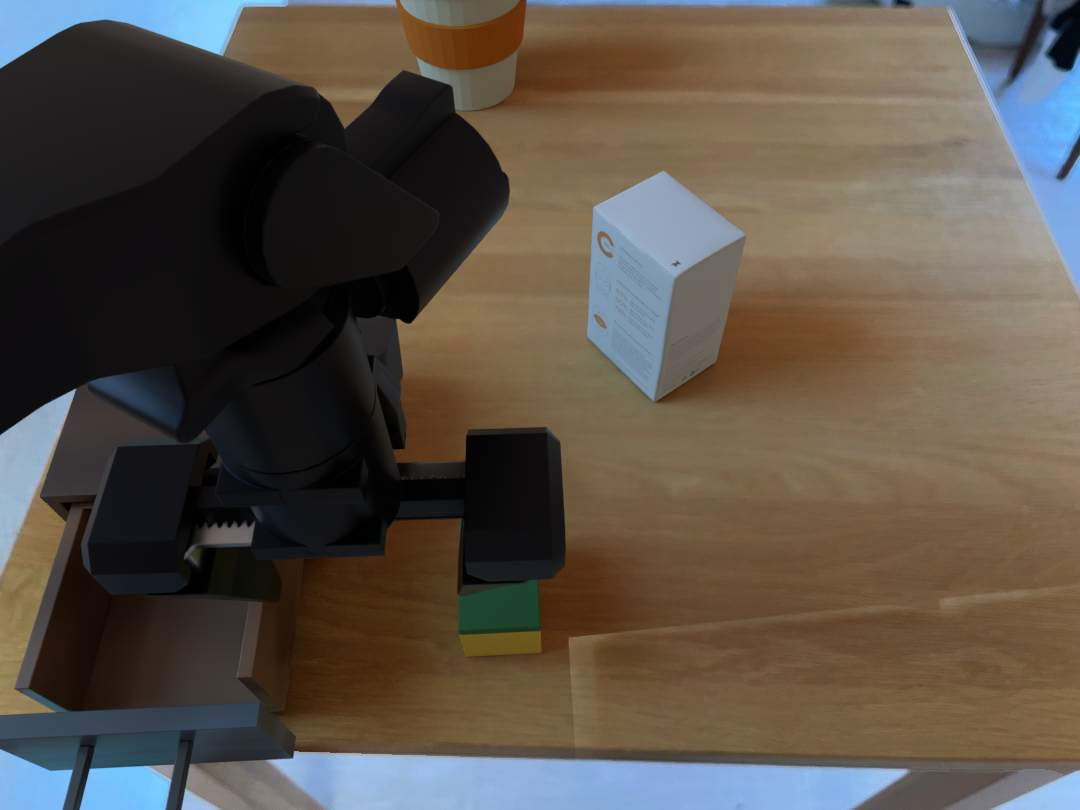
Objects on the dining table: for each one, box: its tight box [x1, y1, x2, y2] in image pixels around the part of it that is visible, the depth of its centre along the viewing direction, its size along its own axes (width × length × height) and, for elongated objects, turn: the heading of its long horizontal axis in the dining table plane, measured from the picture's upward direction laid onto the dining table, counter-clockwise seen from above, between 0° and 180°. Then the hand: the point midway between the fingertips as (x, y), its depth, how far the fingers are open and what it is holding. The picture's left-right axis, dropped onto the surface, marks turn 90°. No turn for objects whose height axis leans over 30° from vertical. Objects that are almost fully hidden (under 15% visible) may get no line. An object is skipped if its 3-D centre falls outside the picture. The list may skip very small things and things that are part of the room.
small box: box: [586, 170, 748, 403], centre depth 58 cm, size 8×6×13 cm
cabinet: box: [39, 383, 222, 523], centre depth 55 cm, size 15×15×9 cm
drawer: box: [0, 501, 305, 810], centre depth 46 cm, size 18×13×7 cm
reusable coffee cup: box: [395, 0, 528, 112], centre depth 77 cm, size 13×13×15 cm
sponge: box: [457, 519, 543, 658], centre depth 50 cm, size 7×5×4 cm, turn 3°
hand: (370, 589), depth 41 cm, fingers open, 9 cm apart
